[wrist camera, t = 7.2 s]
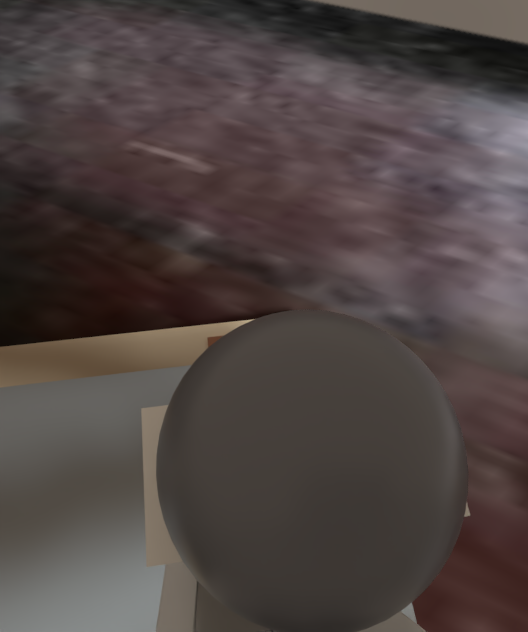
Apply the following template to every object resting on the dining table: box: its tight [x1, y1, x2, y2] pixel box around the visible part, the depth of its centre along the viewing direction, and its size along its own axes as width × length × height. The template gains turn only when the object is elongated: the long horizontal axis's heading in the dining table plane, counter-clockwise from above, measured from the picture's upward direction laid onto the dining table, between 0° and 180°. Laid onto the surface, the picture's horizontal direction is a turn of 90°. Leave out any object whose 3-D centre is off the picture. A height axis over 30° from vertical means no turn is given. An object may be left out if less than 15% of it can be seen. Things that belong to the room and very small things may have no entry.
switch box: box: [0, 319, 417, 632], centre depth 17 cm, size 18×26×7 cm
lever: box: [141, 310, 470, 632], centre depth 8 cm, size 3×3×12 cm
